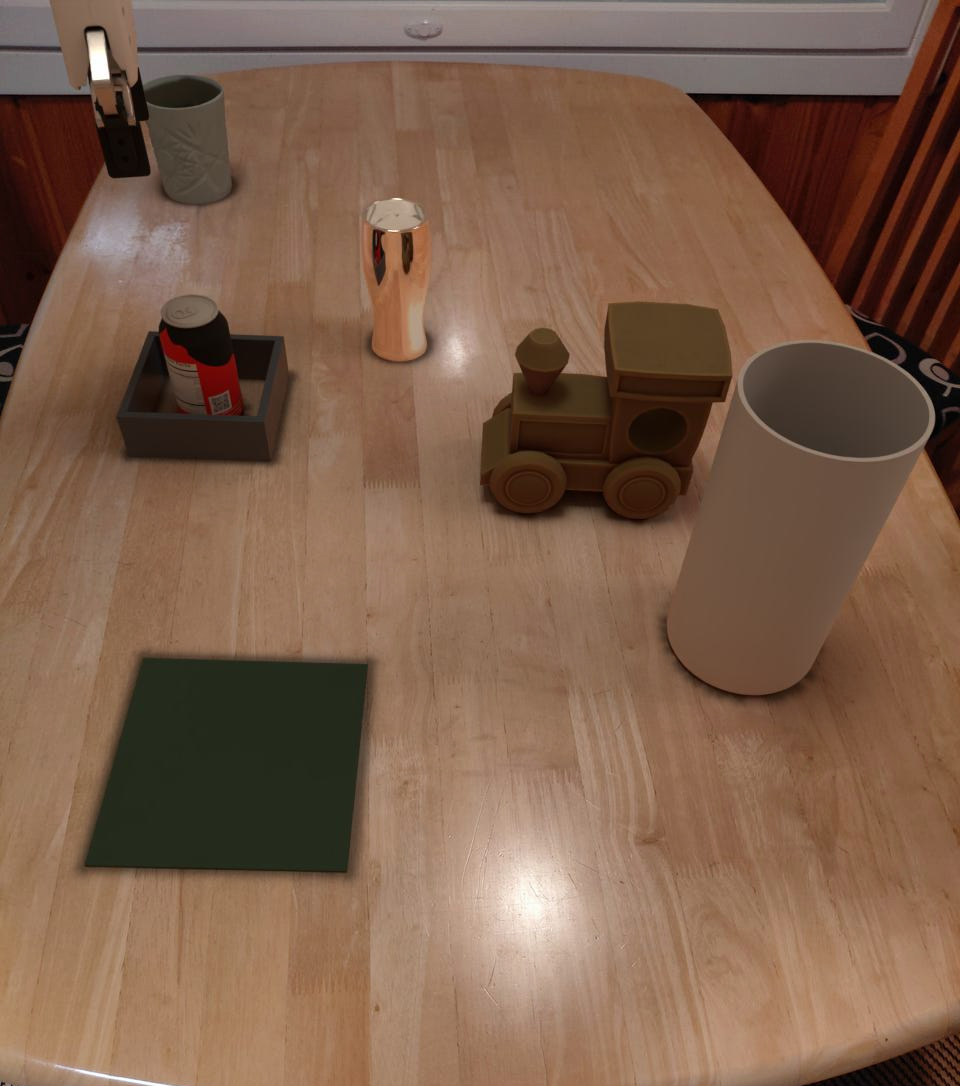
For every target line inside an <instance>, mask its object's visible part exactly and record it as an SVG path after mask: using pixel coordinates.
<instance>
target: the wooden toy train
mask: <svg viewBox="0 0 960 1086" xmlns="http://www.w3.org/2000/svg"><path fill="white" fill-rule="evenodd" d="M603 331H604V333H603V350H604V351H603V352H604V363H605V372H606V376H604V375H603V376H602V375H595V374H594V375H593V374H587V373H570V372H569V373H568V372H563V371H564V369H565V368H566V366H567V365H568V364H569V360H570V356H571V353H570V352H569V351H568V349H567V347H566V345H565V344H564V343H563V341H562V340H561V337H559V335H558V333H557V332H556V331H555V330H553V329H551V328H548V327H538V328H537V327H536V328H534V329H533V330H532V331H530V332H529V333H528V334H527V335H526V336H525V337H524V338H523V339H522V341H521V342H520V343H519V344H518V345H517V346H516V349H515V351H514V356H515V359H516V362H517V364H518V366H519V368H520V370H521V372H512V373H513V375H512V385H511V392H510V393H508V394H507V395H505V396H504V397H503V398H501V399H500V401H498V403H497V404H496V406H495V407H494V409H493V412H492V416H491V417H490V418H489V419H487V420H486V421H484V422H483V423H482V432H481V433H482V434H481V453H480V455H481V456H480V458H481V459H480V479H479V485H480V486H485V487H490V488H489V489H490V492H491V493H492V495H493V496H494V498H495V500H496V501H497V502H498V503H499V504H500V505H501V506H503V507H504V508H505V509H508V510H510V511H512V512H516V513H521V514H536V513H540V512H543V511H546V510H548V509H551V508H552V507H553V506H555V505H557V503H558V502H559V501H560V500H561V499H562V497H563V496H564V494H565V492H566V491H584V492H602V495H603V498H604V501H605V502H606V505H608V507H609V508H610V509H611V510H612V511H614V512H615V513H616V514H618V515H620V516H622V517H624V518H628V519H634V520H641V519H643V520H644V519H650V518H653V517H656V516H659V515H661V514H662V513H665V512H666V511H668V510H669V509H670V508H671V507H672V506H673V504H675V502H676V501H677V498H678V497H679V496H681V497H683V496H684V497H686V496H687V494H688V490H689V487H690V484H691V480H692V477H693V472H694V465H693V458H694V456H695V454H696V452H697V451H698V449H699V446H700V443H701V441H702V438H703V435H704V432H705V430H706V426H707V424H708V422H709V421H708V420H709V417H710V414H711V411H712V407H713V404H714V403H715V404H717V403H726V400H727V396H728V393H729V390H730V386H731V383H732V379H733V363H732V362H733V361H732V352H731V347H730V342H729V338H728V334H727V330H726V325H725V323H724V321H723V318H722V315H721V313H720V311H719V309H718V308H714V307H707V306H703V305H695V304H689V303H677V302H676V303H675V302H656V301H638V300H637V301H626V302H609V303H608V304H607V311H606V318H605V324H604V330H603Z"/></svg>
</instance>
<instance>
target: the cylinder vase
mask: <svg viewBox="0 0 960 1086" xmlns="http://www.w3.org/2000/svg"><path fill="white" fill-rule="evenodd" d="M935 423H936V412H935V408H934V404H933V402H932V399H931V397H930V396H929V394H928V393H927V390H925V388H924V386H922V384H920V382H919V381H918V380H917V379H916V378H915V377H914V376H913V375H912V374H910V373H909V372H908V371H907V370H905V369H904V368H902V367H901V366H899V365H898V364H896V363H895V362H893V361H891V360H889V359H888V358H886V357H883V356H882V355H879V354H877V353H875V352H872V351H870V350H868V349H865V348H861V347H858V346H855V345H851V344H847V343H843V342H838V341H832V340H822V339H797V340H788V341H783V342H779V343H775V344H772V345H769V346H766V347H765V348H762V349H761V350H759V351H757V352H755V353H754V354H752V355H751V356H750V357H749V358H748V359H747V360H746V361H745V362H744V364H743V365H742V367H741V369H740V371H739V373H738V376H737V379H736V383H735V386H734V390H733V394H732V397H731V400H730V403H729V407H728V410H727V413H726V416H725V420H724V423H723V426H722V430H721V434H720V436H719V440H718V443H717V447H716V450H715V454H714V456H713V461H712V464H711V467H710V471H709V474H708V477H707V481H706V484H705V487H704V491H703V495H702V498H701V501H700V504H699V507H698V511H697V514H696V518H695V521H694V523H693V528H692V532H691V534H690V539H689V541H688V545H687V549H686V551H685V554H684V558H683V562H682V565H681V568H680V571H679V575H678V578H677V581H676V585H675V588H674V592H673V595H672V598H671V602H670V605H669V609H668V612H667V616H666V634H667V638H668V642H669V644H670V646H671V649H672V650H673V652H674V654H675V656H676V657H677V659H678V660H679V662H681V664H682V665H683V666H684V667H685V668H686V669H687V670H688V671H689V672H691V674H693V675H694V676H696V677H697V678H698V679H700V680H701V681H703V682H705V683H706V684H708V685H710V686H713V687H715V688H716V689H720V690H723V691H725V692H728V693H732V694H737V695H745V696H764V695H770V694H775V693H776V694H777V693H779V692H782V691H785V690H787V689H789V688H791V687H793V686H794V685H796V684H797V683H798V682H800V681H801V680H803V678H804V677H805V676H806V675H807V674H808V673H809V671H810V670H811V668H812V667H813V665H814V663H815V661H816V659H817V657H818V655H819V653H820V652H821V649H822V647H823V646H824V643H825V641H826V639H827V638H828V636H829V635H830V632H831V629H832V628H833V626H834V624H835V622H836V621H837V618H838V616H839V615H840V612H841V610H842V608H843V606H844V605H845V602H846V601H847V599H848V597H849V595H850V593H851V591H852V589H853V587H854V585H855V583H856V582H857V579H858V577H859V576H860V573H861V572H862V569H863V568H864V565H865V563H866V562H867V560H868V557H869V555H870V554H871V552H872V550H873V548H874V545H875V544H876V542H877V540H878V538H879V536H880V535H881V532H882V530H883V528H884V526H885V524H886V522H887V520H888V519H889V517H890V515H891V513H892V511H893V508H894V507H895V505H896V503H897V501H898V499H899V497H900V496H901V493H902V491H903V489H904V487H905V485H906V484H907V481H908V479H909V477H910V475H911V474H912V471H913V470H914V468H915V466H916V464H917V462H918V461H919V458H920V457H921V455H922V452H923V450H924V448H925V446H926V444H927V442H928V440H929V439H930V436H931V435H932V433H933V430H934V428H935Z"/></svg>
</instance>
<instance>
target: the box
mask: <svg viewBox="0 0 960 1086" xmlns="http://www.w3.org/2000/svg"><path fill="white" fill-rule="evenodd" d="M230 337H231V342H232V347H233V352H234V358H235V363H236V368H237V374H238V379H241V380H243V379H245V380H265V381H264V385H263V389H262V394H261V398H260V401H259V406H258V410H257V415H240V416H234V415H206V414H179V413H175V412H174V413H173V412H154V410H155V406H156V403H157V402H158V398H159V395H160V392H161V388H162V387H163V384H164V380H165V377H170V376H169V372H168V368H167V364H166V360H165V356H164V352H163V348H162V344H161V340H160V336H159V330H158V331H155V330H153V331H152V330H149V331H148V332H147V334H146V337H145V340H144V342H143V344H142V347H141V350H140V353H139V355H138V358H137V361H136V364H135V365H134V369H133V371H132V374H131V377H130V379H129V382H128V384H127V386H126V390H125V392H124V395H123V398H122V401H121V403H120V406H119V409H118V411H117V413H116V416H115V418H116V421H117V424H118V427H119V430H120V433H121V436H122V440H123V442H124V446H125V450H126V453H127V455H128V457H129V458H146V459H147V458H149V459H177V460H179V459H180V460H182V459H184V460H205V461H206V460H209V461H211V460H212V461H237V462H263V463H265V462H266V463H271V462H272V460H273V459H272V458H273V454H274V450H275V445H276V440H277V436H278V431H279V426H280V422H281V417H282V411H283V408H284V402H285V399H286V394H287V388H288V384H289V379H290V372H289V363H288V357H287V349H286V343H285V336H284V335H263V334H262V335H260V334H238V333H237V334H236V333H235V334H234V333H233V334H232V333H230Z"/></svg>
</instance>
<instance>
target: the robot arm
mask: <svg viewBox="0 0 960 1086" xmlns="http://www.w3.org/2000/svg"><path fill="white" fill-rule="evenodd" d="M48 1H49V5H50V8H51V13H52V17H53V20H54V26H55V30H56V32H57V33H56V34H57V37H58V41H59V45H60V50H61V54H62V57H63V63H64V66H65V70H66V74H67V75H66V76H67V79H68V83H69V85H70V86H71V87H72V88H73V89H74V90H76V91H81V90H82V87H83V88H84V87H87V83H88V87H89V91H90V97H91V103H92V107H93V108H92V109H93V113H94V118H95V129H96V133H97V137H98V140H99V144H100V148H101V152H102V156H103V159H104V163H105V167H106V171H107V175H108V176H109V177H110V178H111V179H126V178H142V177H149V176H150V175H151V173H152V171H151V170H152V169H151V168H152V167H151V164H150V159H149V155H148V151H147V148H146V147H147V145H146V142H145V137H144V133H143V129H142V124H141V122H145V121H147V120H148V119H149V111H148V107H147V102H146V98H145V93H144V88H143V85H144V84H143V81H142V79H143V78H142V75H141V70H140V67H139V62H138V60H139V59H138V58H139V57H138V55H139V54H138V41H137V31H136V29H137V28H136V22H135V15H134V9H133V3H132V0H48ZM87 81H88V82H87Z"/></svg>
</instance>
